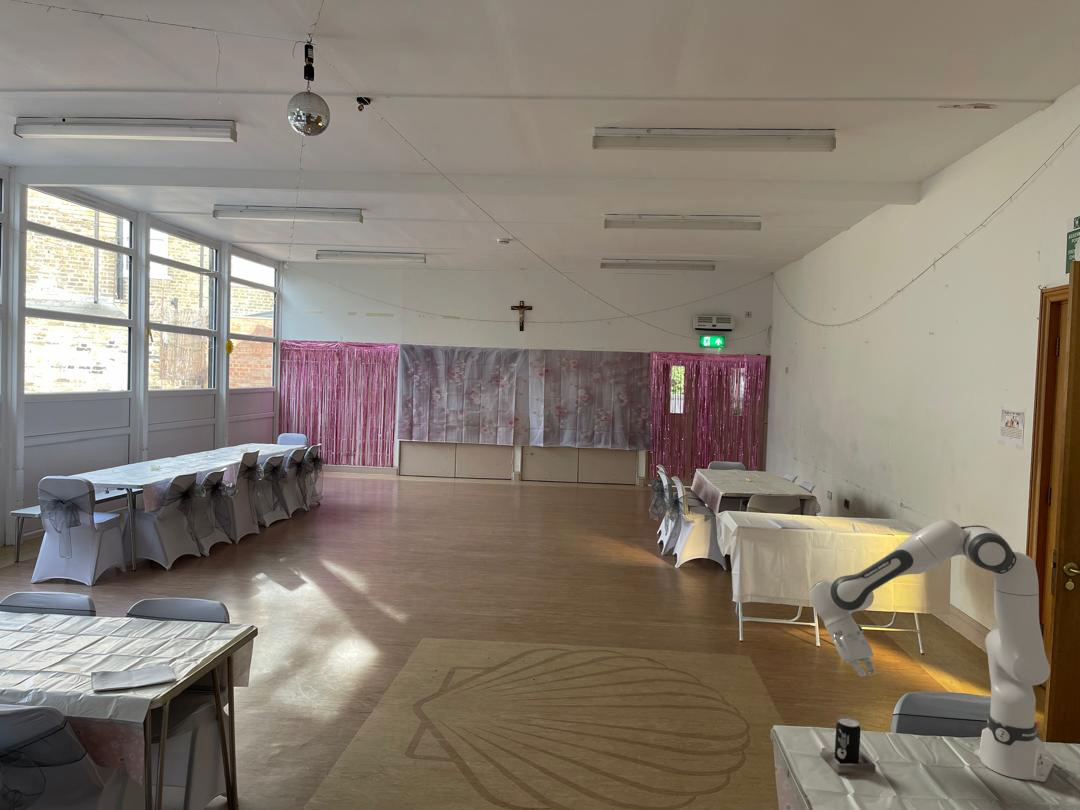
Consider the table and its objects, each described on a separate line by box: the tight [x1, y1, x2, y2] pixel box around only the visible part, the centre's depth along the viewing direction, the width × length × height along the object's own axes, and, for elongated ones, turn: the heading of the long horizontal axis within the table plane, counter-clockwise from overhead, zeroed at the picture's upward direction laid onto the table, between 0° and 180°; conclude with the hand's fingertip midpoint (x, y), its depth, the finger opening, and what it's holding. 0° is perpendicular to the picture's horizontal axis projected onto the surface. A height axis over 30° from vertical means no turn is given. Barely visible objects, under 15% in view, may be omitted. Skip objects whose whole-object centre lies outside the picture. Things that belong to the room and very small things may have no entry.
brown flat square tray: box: [819, 747, 876, 776], centre depth 213 cm, size 11×11×3 cm
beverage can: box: [834, 716, 862, 764], centre depth 213 cm, size 7×7×12 cm
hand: (868, 674), depth 221 cm, fingers open, 8 cm apart
